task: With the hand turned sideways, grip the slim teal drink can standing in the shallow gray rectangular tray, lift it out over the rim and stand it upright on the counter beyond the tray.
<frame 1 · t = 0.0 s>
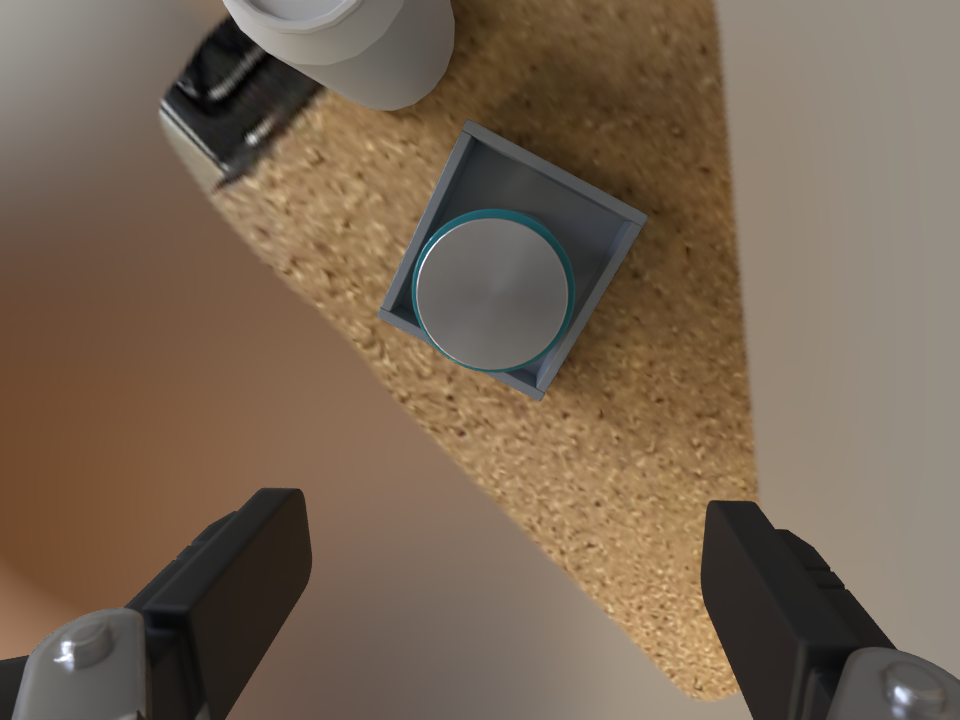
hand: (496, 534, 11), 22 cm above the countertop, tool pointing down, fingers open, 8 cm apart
can: (388, 38, 29), on the countertop
gray rectangular tray: (508, 263, 31), on the countertop
slim can: (508, 264, 31), point 1 cm above the countertop, touching gray rectangular tray
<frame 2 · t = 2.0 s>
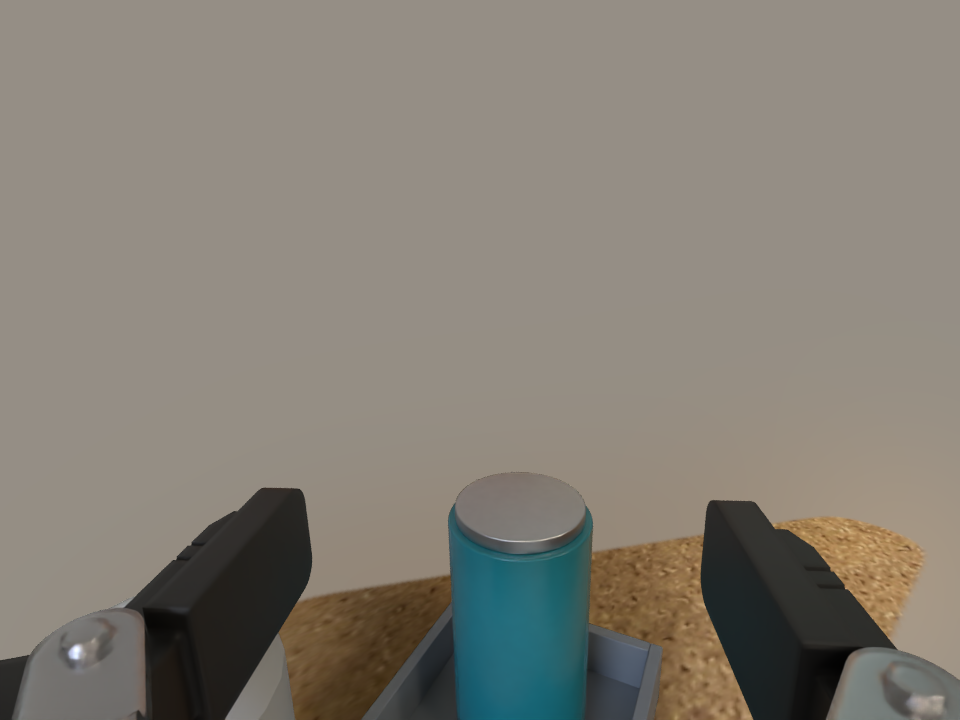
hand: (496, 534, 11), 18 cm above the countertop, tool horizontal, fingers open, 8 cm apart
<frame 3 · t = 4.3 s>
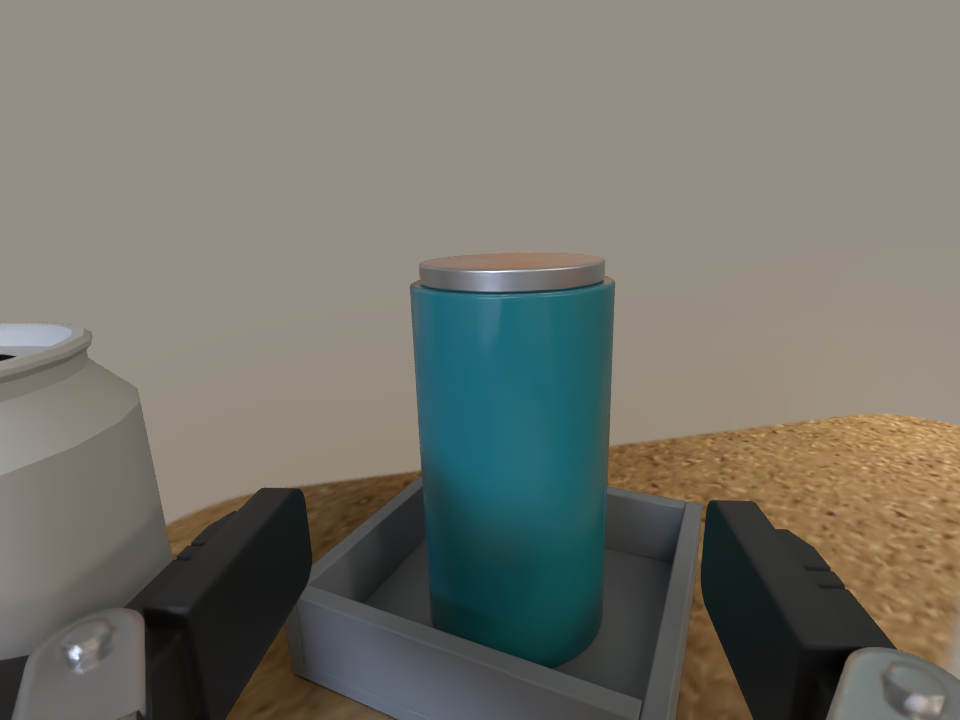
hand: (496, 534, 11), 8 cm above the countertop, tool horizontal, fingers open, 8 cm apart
gray rectangular tray: (515, 618, 19), on the countertop
slim can: (515, 604, 19), point 1 cm above the countertop, touching gray rectangular tray
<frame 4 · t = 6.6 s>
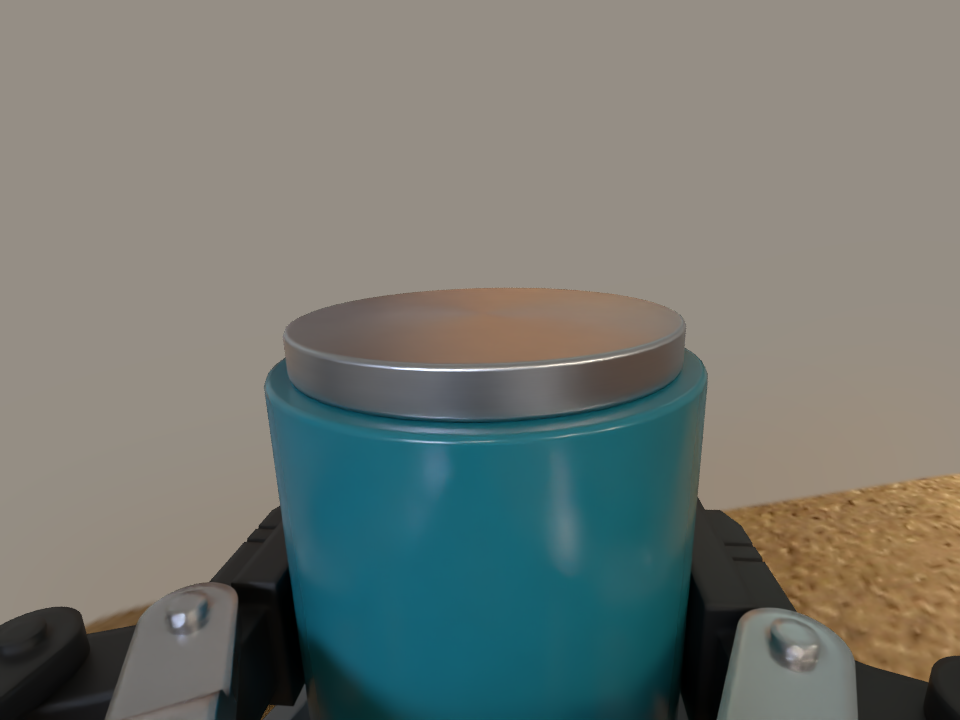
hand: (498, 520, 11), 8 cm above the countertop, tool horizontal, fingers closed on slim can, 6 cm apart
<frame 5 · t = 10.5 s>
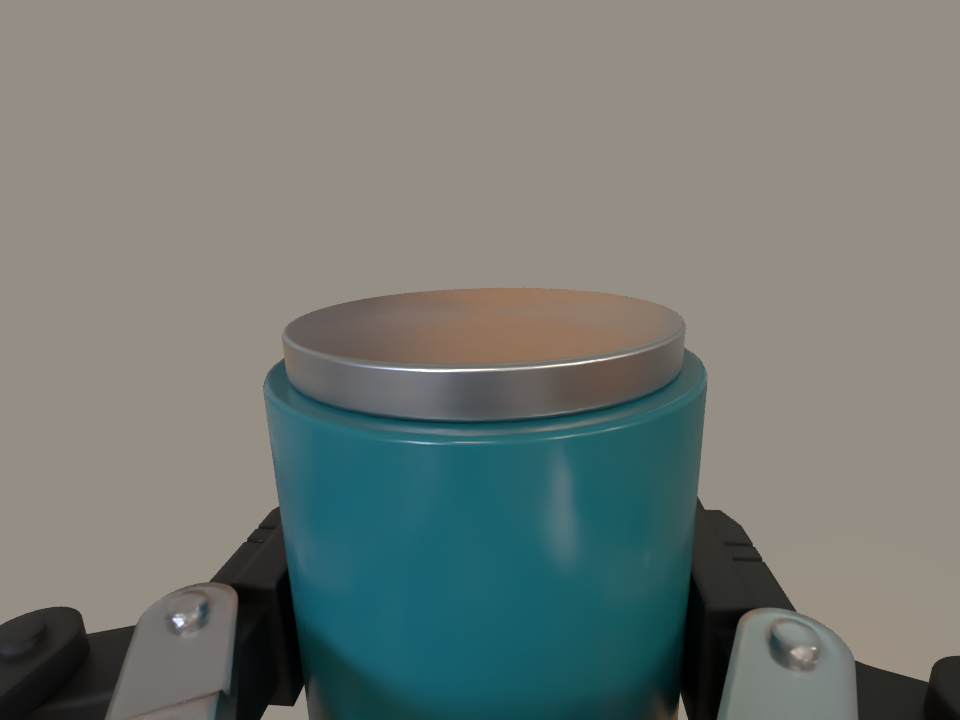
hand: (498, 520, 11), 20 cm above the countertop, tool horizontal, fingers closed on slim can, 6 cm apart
when the fingers open (7 cm above the countertop, at t = 14.6 s): slim can stays where it is, on the countertop.
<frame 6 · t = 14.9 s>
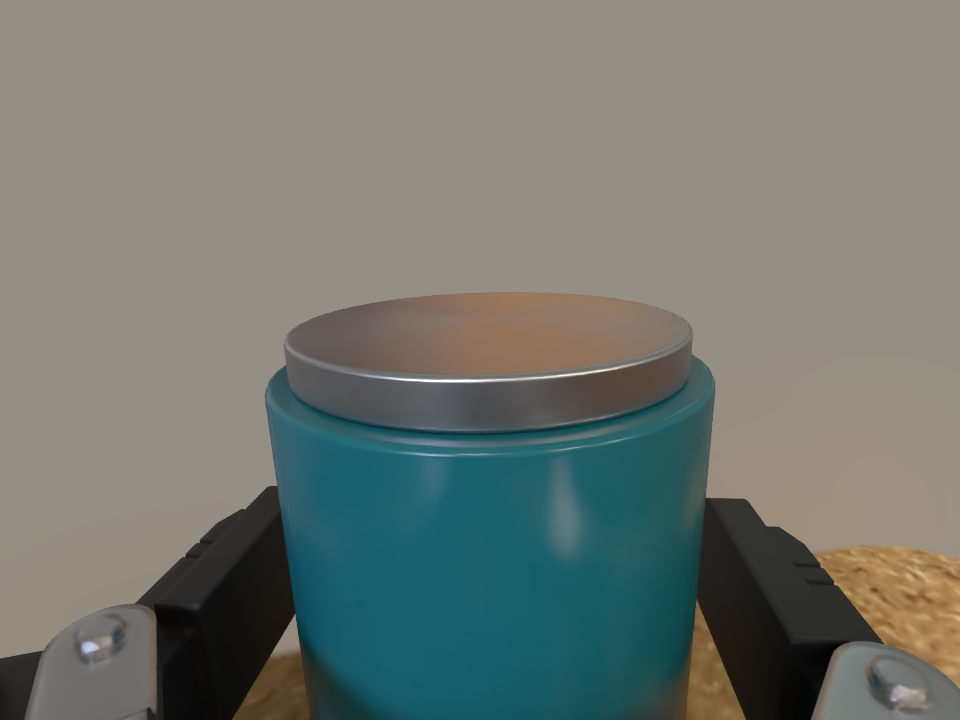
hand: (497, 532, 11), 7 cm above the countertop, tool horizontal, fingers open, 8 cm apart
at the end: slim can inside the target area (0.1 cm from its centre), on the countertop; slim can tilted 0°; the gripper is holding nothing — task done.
